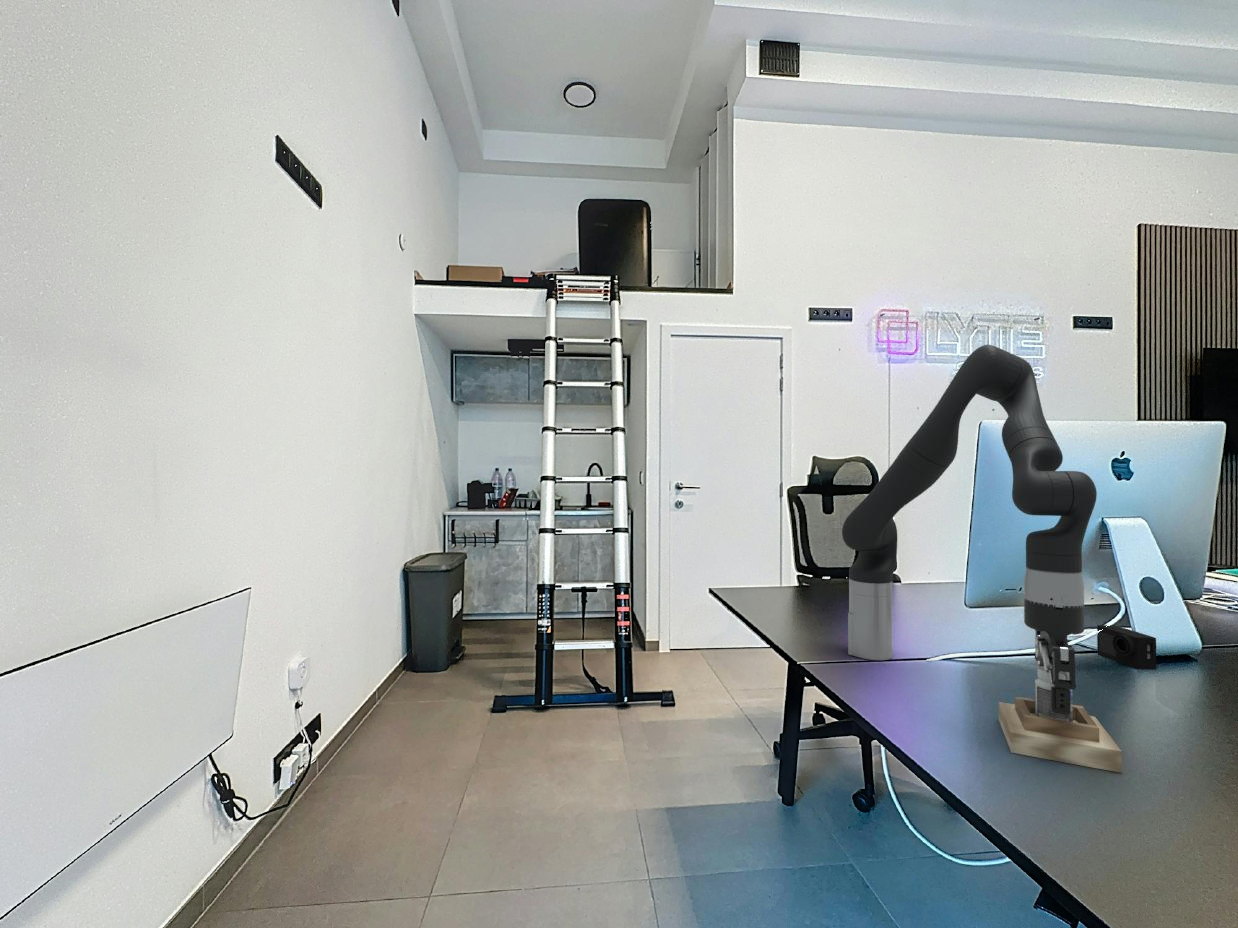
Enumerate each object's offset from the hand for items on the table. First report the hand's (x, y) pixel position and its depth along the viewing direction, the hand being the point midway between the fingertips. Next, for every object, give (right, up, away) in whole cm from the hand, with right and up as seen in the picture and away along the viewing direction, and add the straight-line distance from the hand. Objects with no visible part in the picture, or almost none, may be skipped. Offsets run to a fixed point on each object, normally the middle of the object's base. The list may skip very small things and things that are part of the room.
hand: (1054, 702), depth 90 cm
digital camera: (+45, -7, +40) cm, 61 cm away
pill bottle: (0, -3, 0) cm, 3 cm away
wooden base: (0, -6, 0) cm, 6 cm away
